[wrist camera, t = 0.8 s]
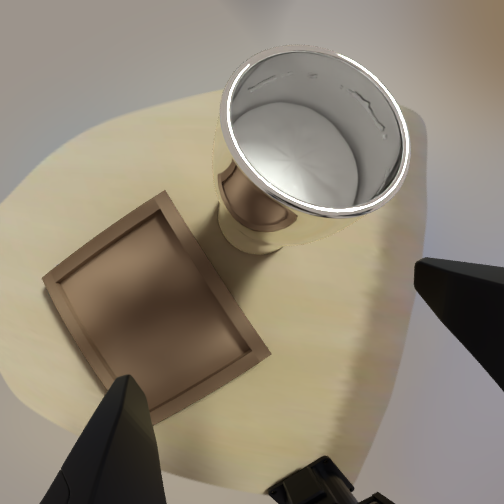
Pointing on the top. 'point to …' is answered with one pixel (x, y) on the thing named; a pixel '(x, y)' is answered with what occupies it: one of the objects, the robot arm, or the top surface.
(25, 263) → the top surface
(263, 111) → the silver metal tumbler
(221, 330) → the walnut tray
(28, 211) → the top surface
